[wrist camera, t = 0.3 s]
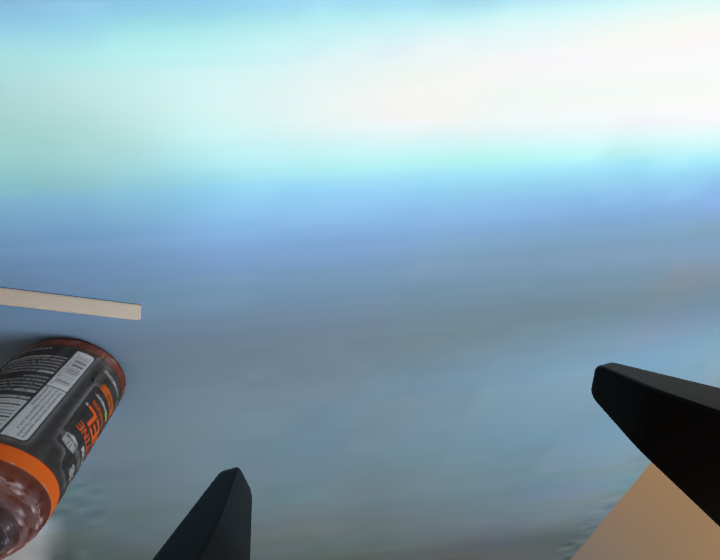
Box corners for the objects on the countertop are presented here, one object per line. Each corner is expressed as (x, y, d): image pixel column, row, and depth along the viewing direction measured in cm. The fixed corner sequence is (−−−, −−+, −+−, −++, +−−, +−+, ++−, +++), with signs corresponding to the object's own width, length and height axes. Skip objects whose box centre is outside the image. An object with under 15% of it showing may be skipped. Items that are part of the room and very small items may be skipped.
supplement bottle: (130, 413, 23) (6, 641, 13) (22, 410, 22) (-215, 665, 11) (129, 338, 21) (-21, 542, 11) (9, 328, 19) (-298, 554, 9)
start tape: (-8, 286, 18) (-9, 287, 18) (140, 304, 20) (140, 305, 20) (-5, 302, 19) (-7, 303, 19) (140, 319, 20) (139, 320, 20)
